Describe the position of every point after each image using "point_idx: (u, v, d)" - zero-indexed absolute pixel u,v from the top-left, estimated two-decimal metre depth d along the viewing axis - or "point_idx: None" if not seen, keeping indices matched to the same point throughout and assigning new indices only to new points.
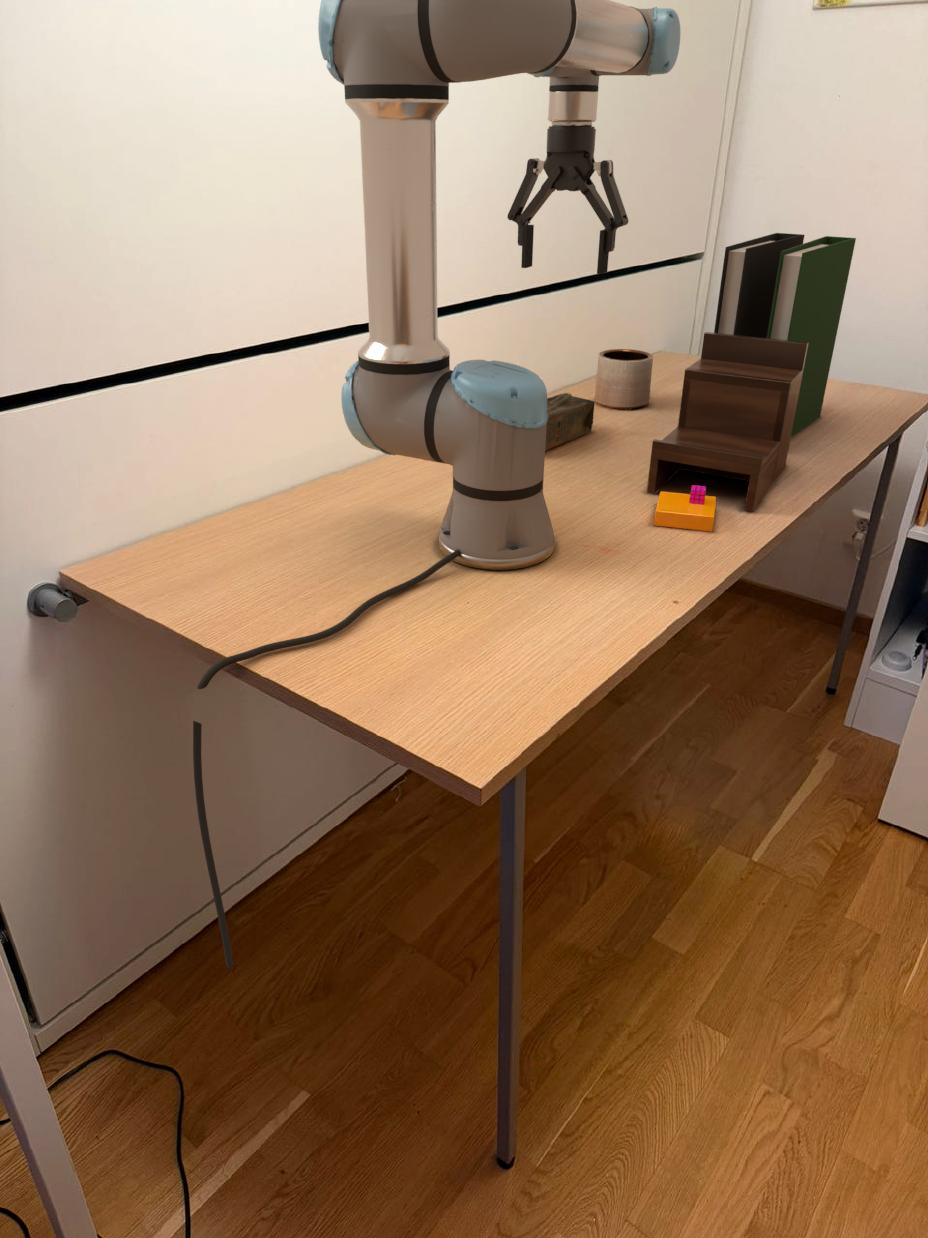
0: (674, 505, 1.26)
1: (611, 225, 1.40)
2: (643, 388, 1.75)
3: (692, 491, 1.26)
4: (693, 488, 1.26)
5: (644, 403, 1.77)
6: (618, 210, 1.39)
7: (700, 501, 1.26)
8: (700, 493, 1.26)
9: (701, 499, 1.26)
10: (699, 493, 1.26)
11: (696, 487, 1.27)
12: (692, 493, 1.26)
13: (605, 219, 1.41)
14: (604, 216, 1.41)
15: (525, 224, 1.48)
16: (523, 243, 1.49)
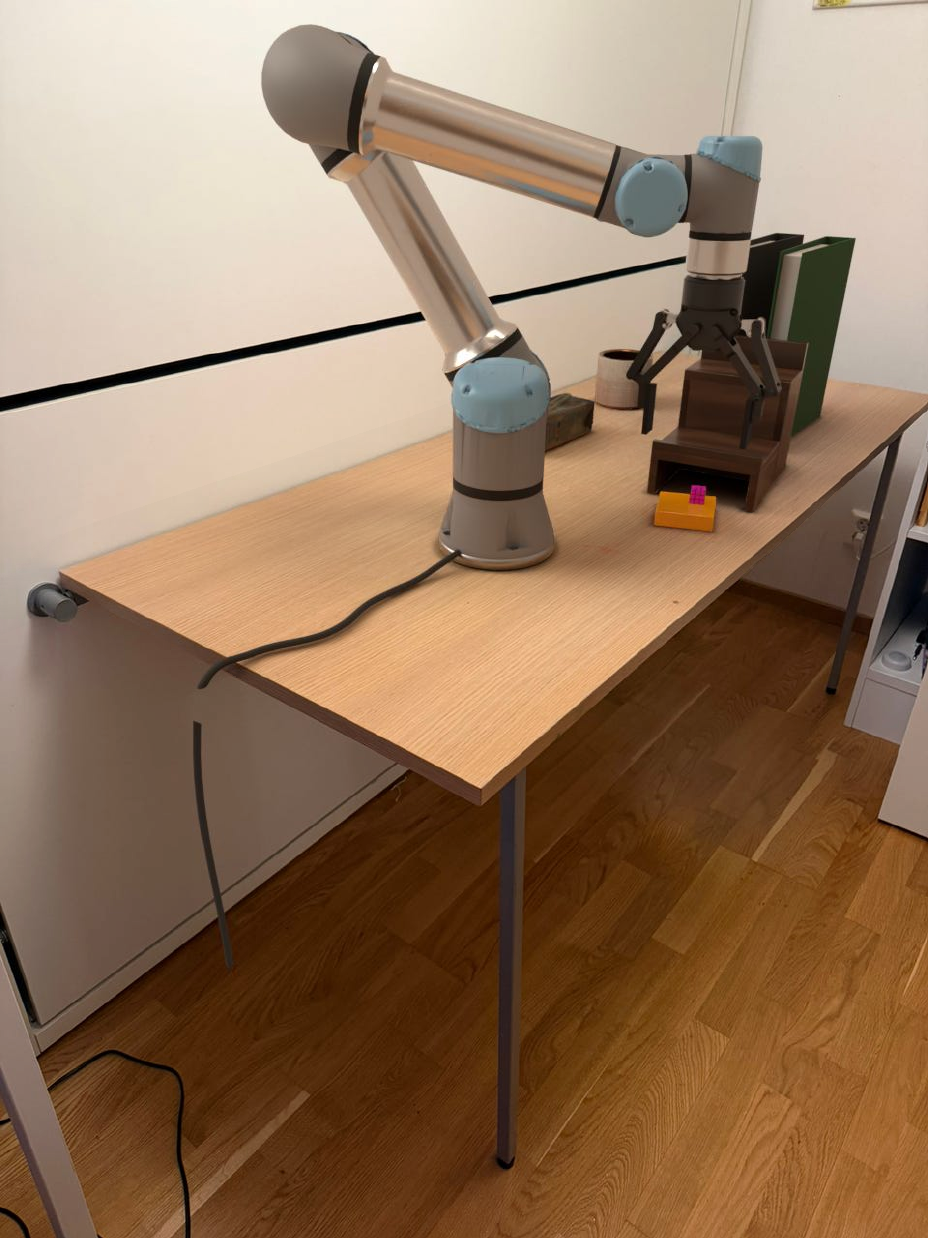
0: (674, 505, 1.26)
1: (762, 395, 1.14)
2: None
3: (692, 491, 1.26)
4: (693, 488, 1.26)
5: None
6: (772, 378, 1.13)
7: (700, 501, 1.26)
8: (700, 493, 1.26)
9: (701, 500, 1.26)
10: (699, 493, 1.26)
11: (696, 487, 1.27)
12: (692, 493, 1.26)
13: (754, 387, 1.15)
14: (753, 384, 1.15)
15: (648, 384, 1.22)
16: (645, 407, 1.23)
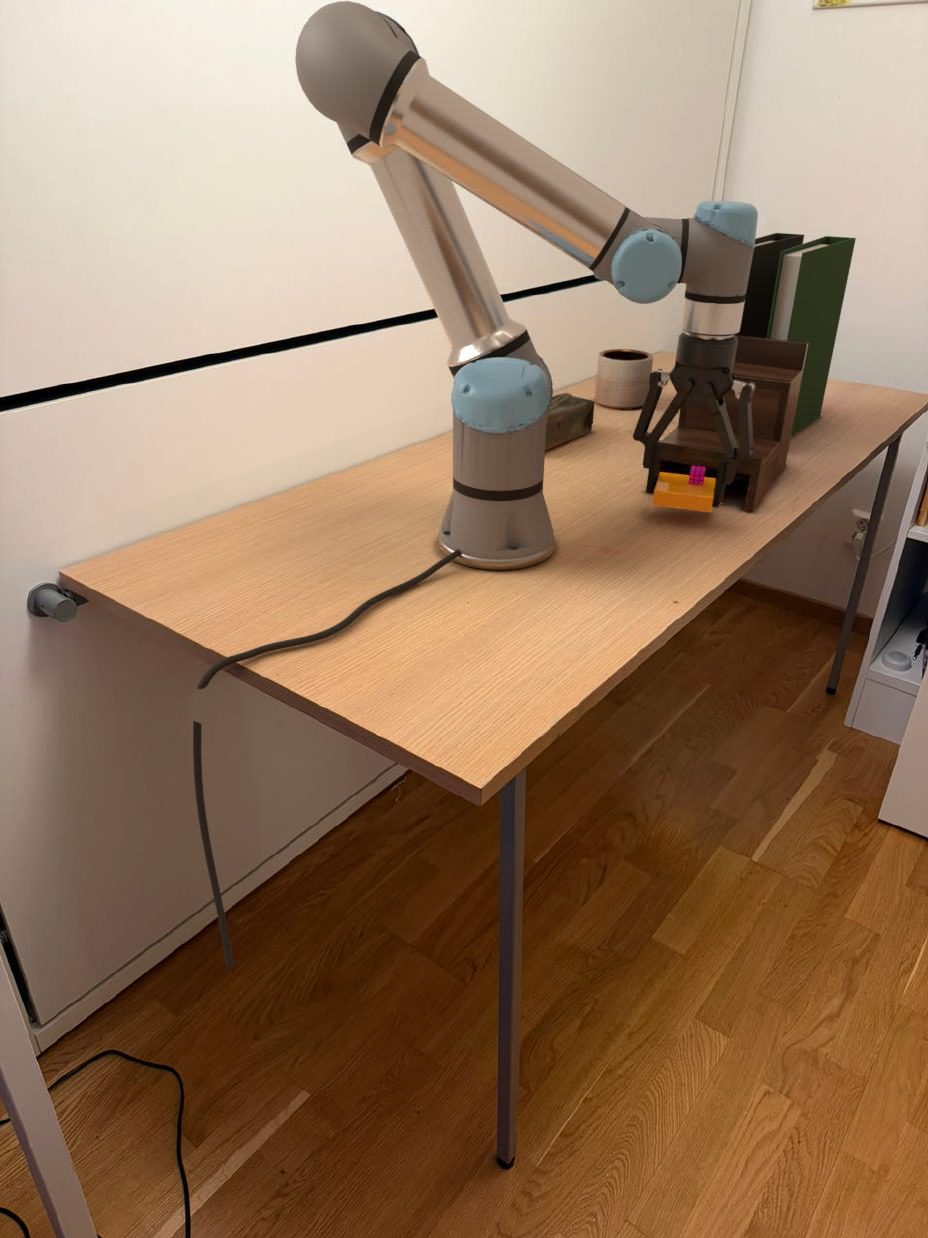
0: (673, 485, 1.25)
1: (734, 459, 1.19)
2: (643, 388, 1.75)
3: (692, 471, 1.24)
4: (693, 468, 1.25)
5: None
6: (747, 443, 1.18)
7: (699, 482, 1.25)
8: (700, 474, 1.24)
9: (700, 480, 1.25)
10: (699, 474, 1.24)
11: (696, 468, 1.25)
12: (692, 473, 1.25)
13: (729, 450, 1.19)
14: (728, 447, 1.19)
15: (654, 446, 1.25)
16: (650, 467, 1.25)
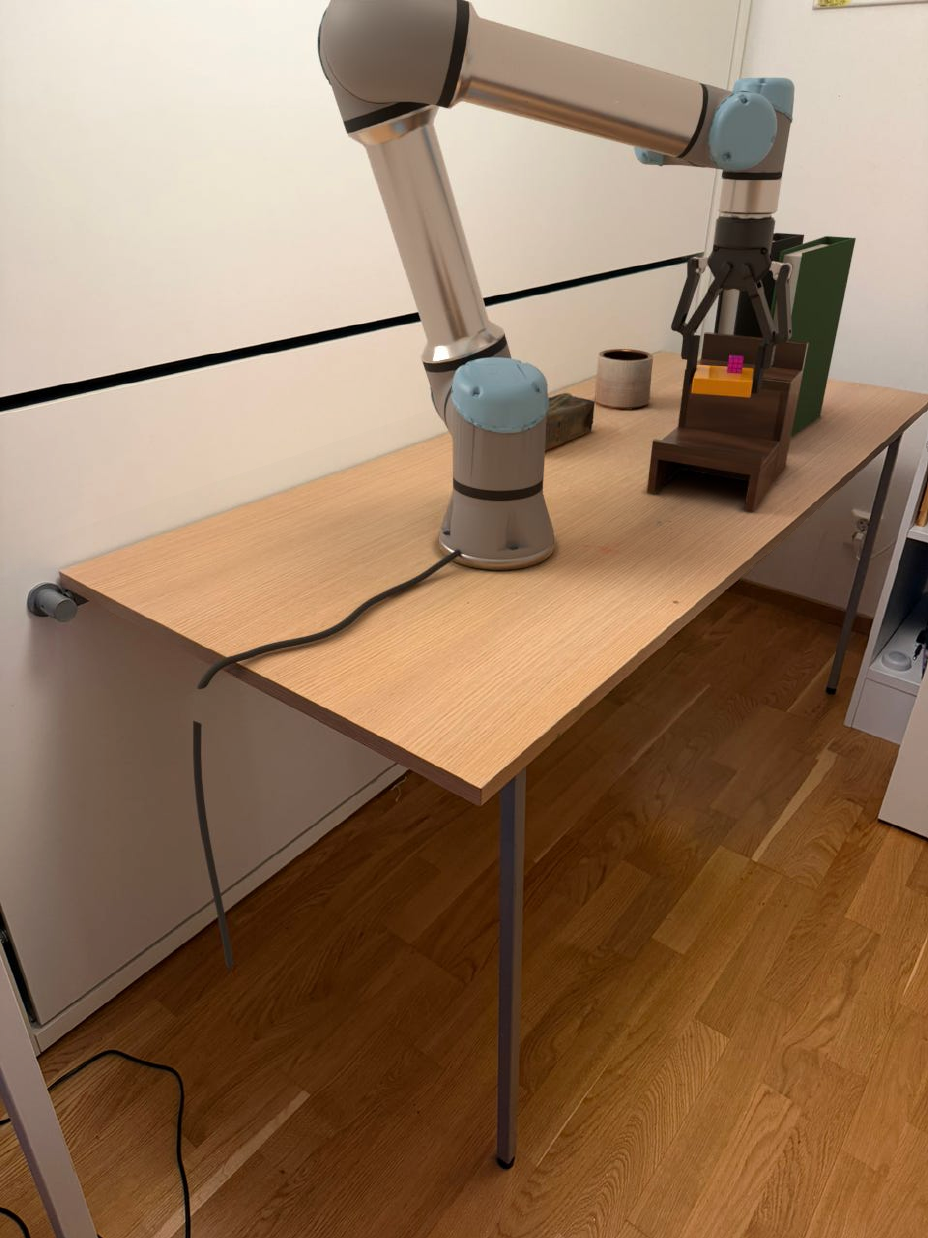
0: (712, 374, 1.26)
1: (773, 342, 1.21)
2: (643, 388, 1.75)
3: (730, 359, 1.26)
4: (731, 357, 1.27)
5: (644, 403, 1.77)
6: (786, 324, 1.19)
7: (738, 370, 1.27)
8: (738, 361, 1.26)
9: (739, 368, 1.26)
10: (737, 361, 1.26)
11: (734, 356, 1.27)
12: (730, 362, 1.26)
13: (767, 333, 1.21)
14: (767, 329, 1.21)
15: (692, 336, 1.27)
16: (689, 357, 1.27)
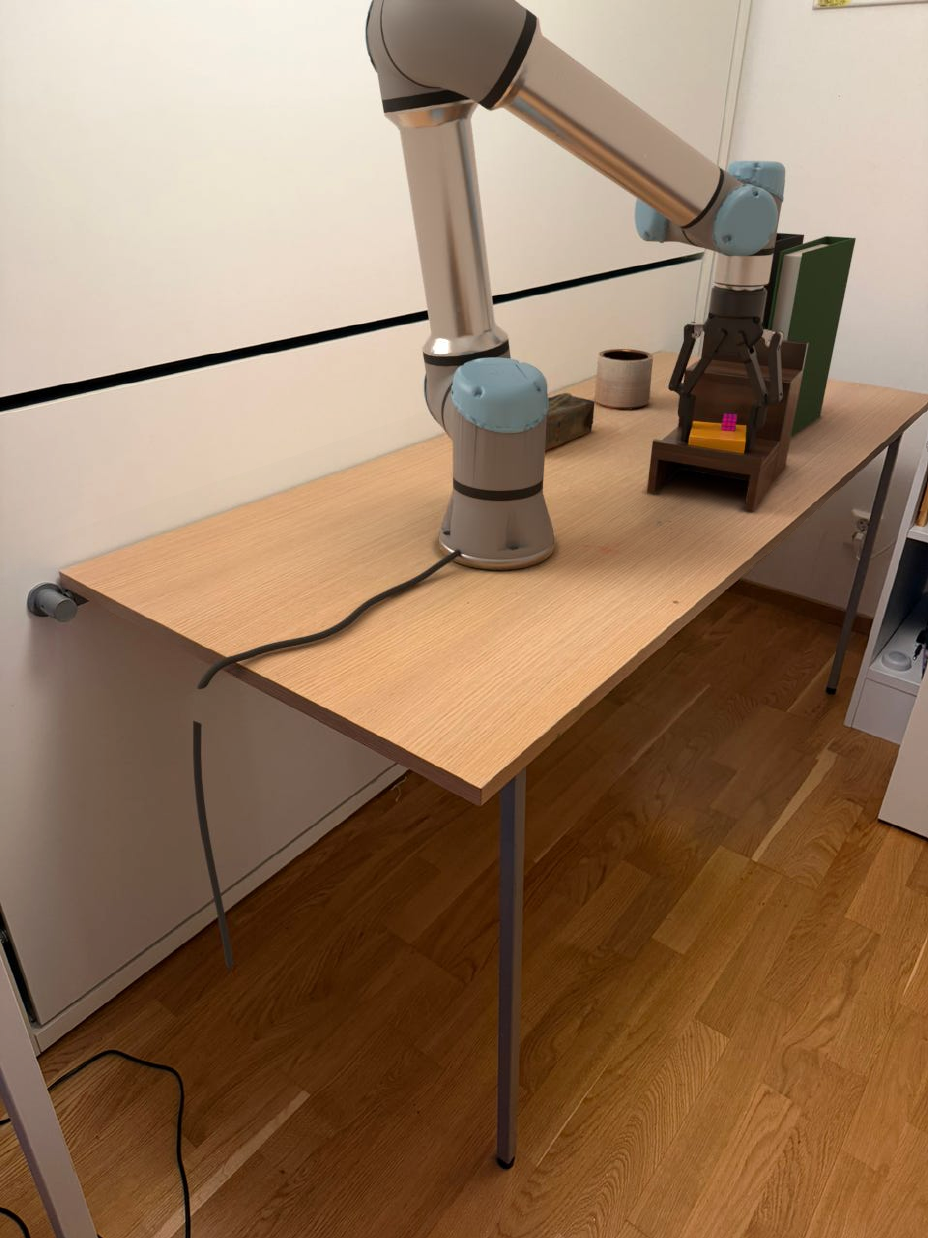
0: (707, 431, 1.33)
1: (765, 404, 1.27)
2: (643, 388, 1.75)
3: (724, 418, 1.33)
4: (725, 416, 1.33)
5: (644, 403, 1.77)
6: (777, 388, 1.26)
7: (732, 428, 1.33)
8: (732, 420, 1.33)
9: (732, 426, 1.33)
10: (731, 420, 1.33)
11: (728, 415, 1.33)
12: (724, 420, 1.33)
13: (760, 395, 1.27)
14: (759, 392, 1.27)
15: (688, 395, 1.33)
16: (685, 416, 1.34)
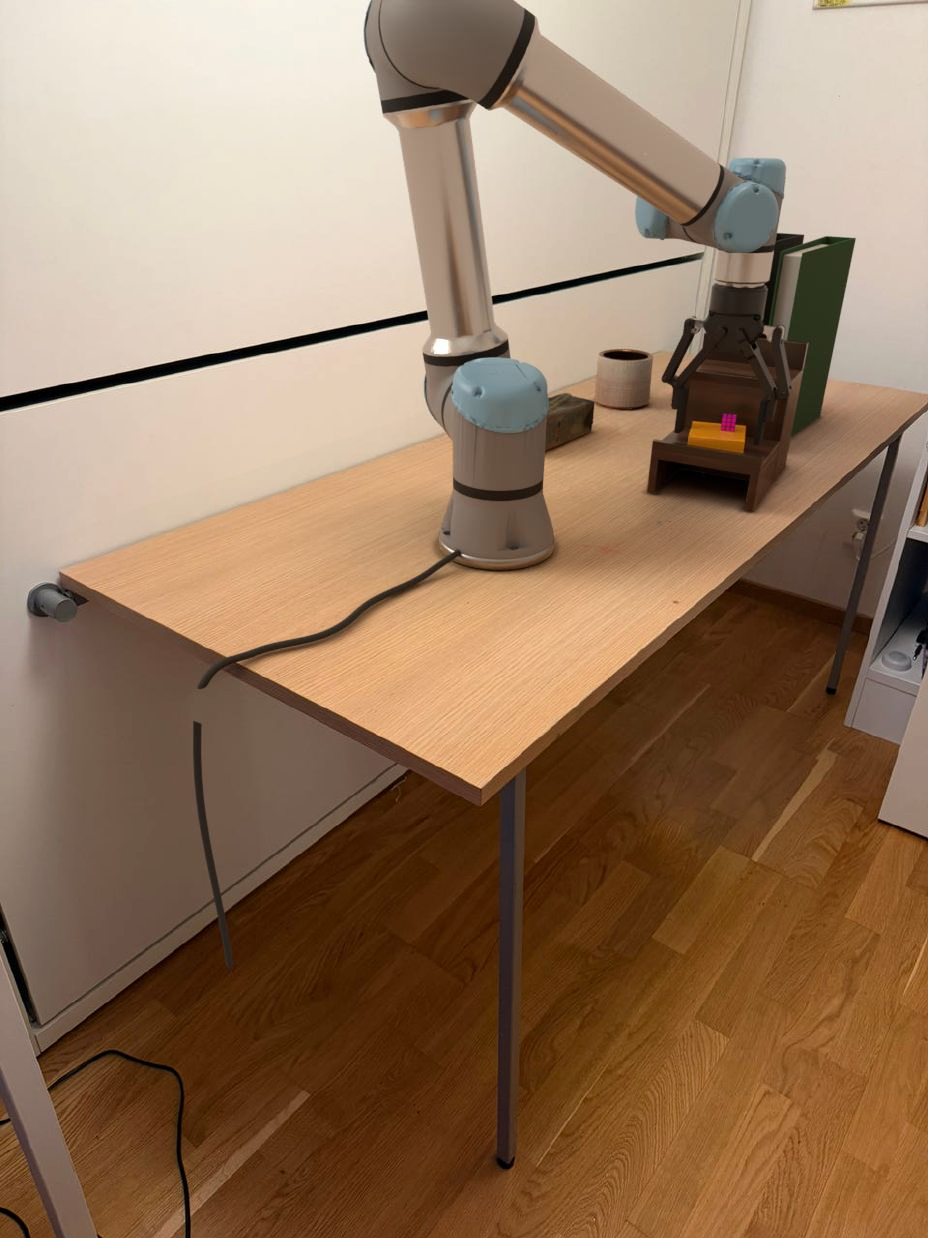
0: (706, 432, 1.33)
1: (774, 397, 1.26)
2: (643, 388, 1.75)
3: (723, 418, 1.33)
4: (724, 416, 1.33)
5: (644, 403, 1.77)
6: (785, 382, 1.25)
7: (731, 428, 1.33)
8: (731, 420, 1.33)
9: (732, 427, 1.33)
10: (730, 420, 1.33)
11: (727, 415, 1.33)
12: (723, 420, 1.33)
13: (768, 389, 1.26)
14: (768, 387, 1.26)
15: (681, 387, 1.33)
16: (678, 408, 1.34)
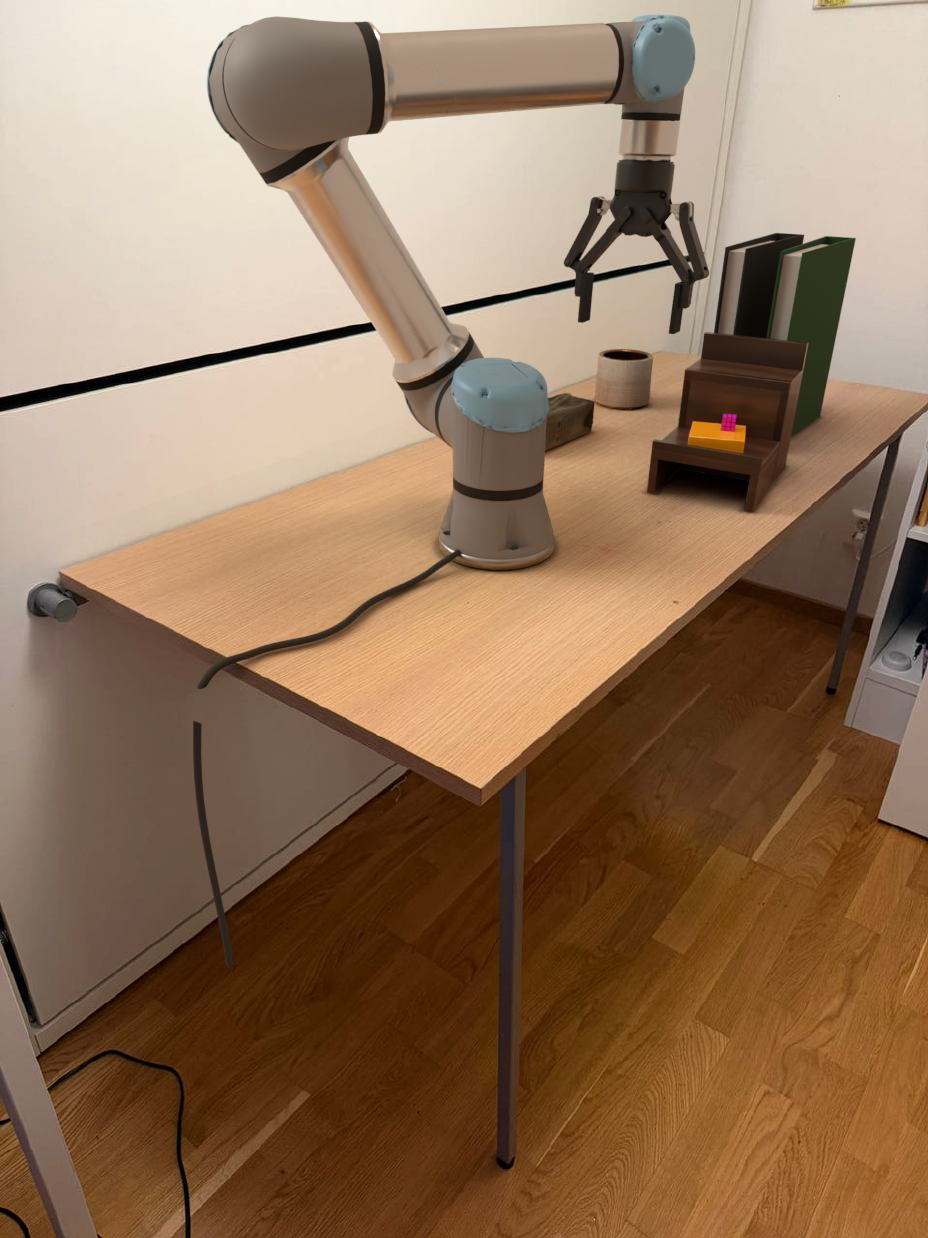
0: (706, 432, 1.33)
1: (689, 278, 1.19)
2: (643, 388, 1.75)
3: (723, 418, 1.33)
4: (724, 416, 1.33)
5: (644, 403, 1.77)
6: (698, 261, 1.17)
7: (731, 428, 1.33)
8: (731, 420, 1.33)
9: (732, 427, 1.33)
10: (730, 420, 1.33)
11: (727, 415, 1.33)
12: (723, 420, 1.33)
13: (682, 271, 1.19)
14: (681, 268, 1.19)
15: (584, 272, 1.26)
16: (581, 294, 1.27)
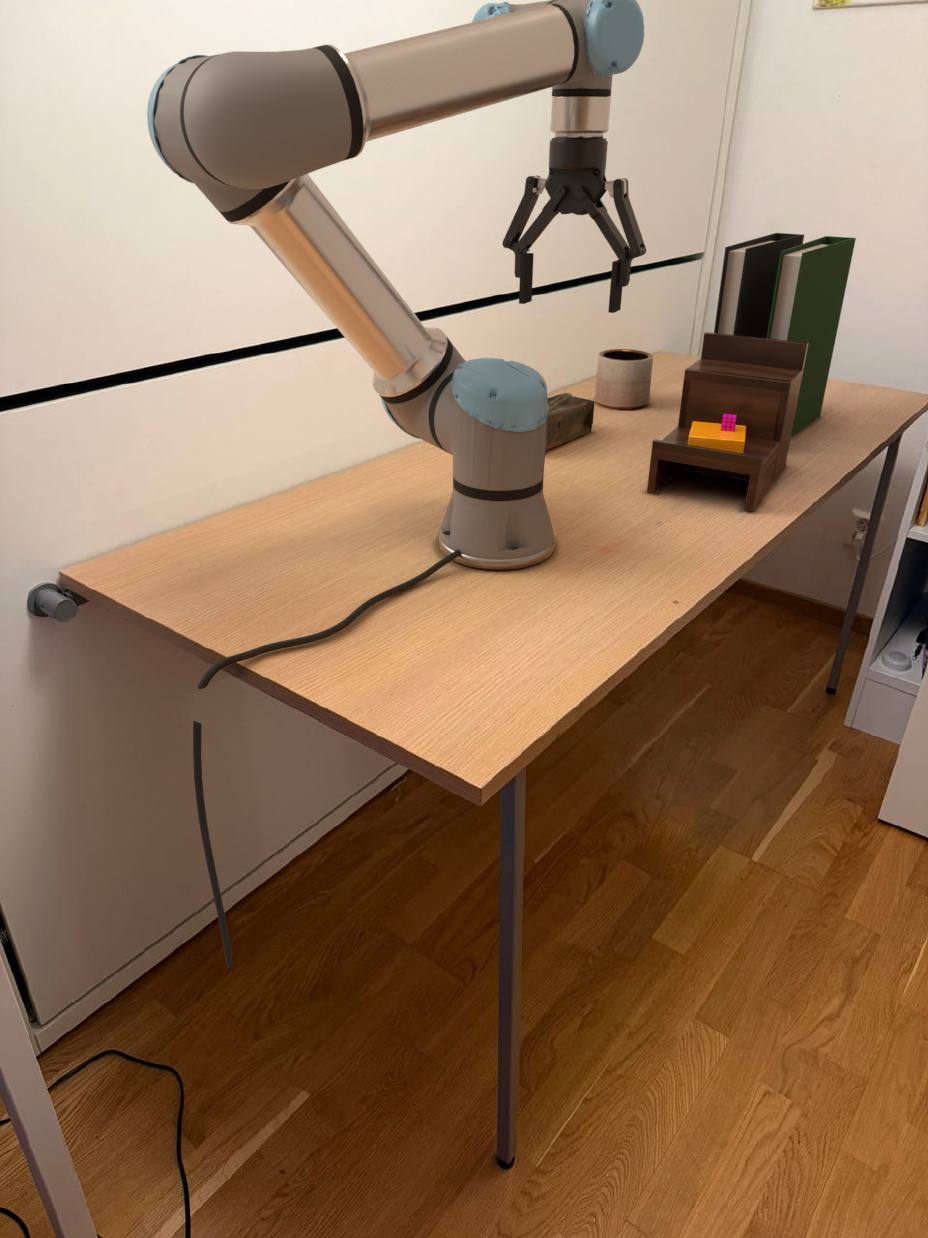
0: (706, 432, 1.33)
1: (626, 256, 1.18)
2: (643, 388, 1.75)
3: (723, 418, 1.33)
4: (724, 416, 1.33)
5: (644, 403, 1.77)
6: (634, 238, 1.17)
7: (731, 428, 1.33)
8: (731, 420, 1.33)
9: (732, 427, 1.33)
10: (730, 420, 1.33)
11: (726, 415, 1.33)
12: (723, 420, 1.33)
13: (618, 248, 1.18)
14: (617, 245, 1.18)
15: (523, 253, 1.25)
16: (521, 275, 1.26)
